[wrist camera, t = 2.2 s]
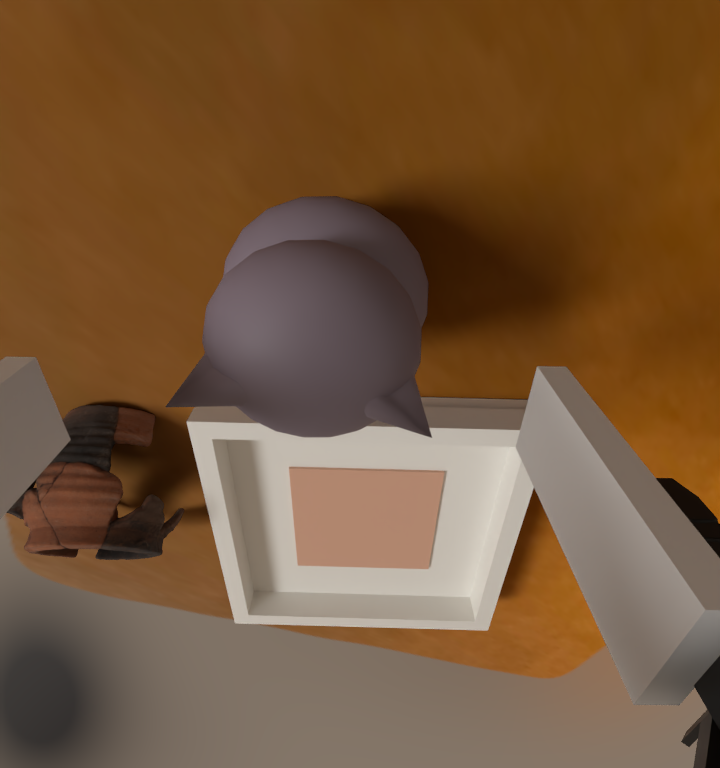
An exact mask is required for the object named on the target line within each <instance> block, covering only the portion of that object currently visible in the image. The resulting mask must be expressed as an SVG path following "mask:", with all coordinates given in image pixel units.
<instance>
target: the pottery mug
mask: <svg viewBox="0 0 720 768" xmlns="http://www.w3.org/2000/svg"><path fill="white" fill-rule="evenodd" d="M155 419H156V417H155V416H154V415H153V414H150V413H147V412H145V411H141V410H136V409H132V408H123V407H116V406H103V405H86V406H80V407H78V408H75V409H73V410H71V411H70V412H68V414H67V415H66V417H65V418H64V419H63V423H64V425H65V428H66V430H67V432H68V435H69V437H70V439H71V440H70V441H69V442H68V444H67V445H66V446H65V447H64V448H63V449H62V450H61V451H60V453H59V454H58V455H57V456H56V457H55V458H54V459H53V460H52V462H51V463H50V464H49V465H48V466H47V467H46V468H45V470H44V471H43V472H42V473H41V474H40V475H39V476H38V477H37V479H36V480H35V481H34V482H33V483H32V484H31V485H30V486H29V488H28V489H27V490H26V491H25V492H24V493H23V494H22V495H21V497H20V498H19V499H18V500H17V501H16V502H15V503H14V505H13V506H12V507H11V508H10V509H9V510H8V511H7V512H6V513H10V514H13V515H15V516H16V517H18V518H20V519H23V520H24V523H25V526H27V527H29V528H30V534H29V537H28V540H27V543H26V545H25V546H24V549H25V550H26V551H28V552H29V553H35V554H40V555H47V556H62V557H71V558H73V557H76V556H77V553H78V549H99V550H98V552H97V554H96V558H97V559H105V560H119V559H126V560H130V559H141V558H150V557H155V556H159V555H161V554H162V544H163V539H164V538H165V537H166V536H167V535H168V534H169V533H170V532H171V531H173V530H174V528H175V527H176V525H177V524H178V523H179V521H180V520H181V518H182V515H183V513H184V509H183V508H180V509H178V510H177V512H176V513H175V514H174V515H173V516H172V517H171V518H170V519H169V520H168V521H167V522H165V523H164V519H165V518H164V514H163V508H164V503H163V502H162V500H160V499H159V498H158V497H157V496H155V495H152V494H151V495H148V496H147V497H146V499H145V500H144V502H143V504H142V506H141V507H139V508H137V509H135V510H134V511H133V512H131V513H129V514H128V515H126V516H124V517H121V518H118V511H117V505H118V503H119V501H120V499H121V498H122V495H123V490H122V483H121V481H120V479H119V478H118V477H116V476H115V475H114V474H112V473H110V472H109V471H110V467H111V463H110V461H111V450H112V448H113V445H114V444H124V443H126V444H133V445H139V446H143V447H147V446H149V445H150V444H151V442H152V439H153V428H154V424H155ZM35 483H37V488H33V487H34V485H35Z"/></svg>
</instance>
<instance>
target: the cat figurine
mask: <svg viewBox="0 0 720 768" xmlns="http://www.w3.org/2000/svg"><path fill="white" fill-rule="evenodd" d="M427 305H428V280H427V276H426V273H425V270H424V267H423V264H422V261H421V258H420V255H419V253H418V251H417V250H416V249H415V247H414V246H413V245H412V243H411V242H410V241H409V239H408V238H407V237H406V236H405V234H404V233H403V232H402V230H401V229H400V228H399V226H398V225H396V224H395V223H393V222H392V221H390V220H389V219H388V218H386V217H385V216H383V215H382V214H380V213H379V212H377V211H376V210H374V209H373V208H371V207H370V206H367V205H364V204H360V203H357V202H354V201H350V200H347V199H344V198H340V197H337V196H328V197H300V198H297V199H295V200H292V201H289V202H286V203H283V204H280V205H277V206H275V207H272V208H269V209H267V210H266V211H265V212H263V213H262V214H261V215H260V216H259V217H257V218H256V219H255V220H254V221H252V222H251V223H250V224H249V225H247V226H246V227H245V228H244V229H243V230H242V232H241V233H240V235H239V237H238V239H237V240H236V242H235V244H234V246H233V247H232V249H231V251H230V253H229V254H228V256H227V258H226V262H225V269H224V276H223V279H222V280H221V282H220V284H219V286H218V287H217V289H216V291H215V292H214V294H213V296H212V298H211V299H210V301H209V303H208V305H207V307H206V315H205V323H204V331H203V346H204V350H205V354H204V356H203V357H202V358H201V360H200V361H199V362H198V364H197V365H196V367H195V368H194V369H193V371H192V372H191V373H190V375H189V376H188V377H187V379H186V380H185V381H184V383H183V384H182V385H181V387H180V388H179V389H178V391H177V392H176V393H175V395H174V396H173V397H172V399H171V400H170V401H169V403H168V404H167V405H166V407H212V406H236V407H237V408H239V409H240V410H241V411H242V412H243V413H244V414H246V415H247V416H248V417H249V418H250V419H252V420H254V421H256V422H258V423H260V424H262V425H264V426H266V427H268V428H270V429H272V430H274V431H277V432H281V433H286V434H290V435H294V436H299V437H334V436H338V435H343V434H347V433H351V432H355V431H358V430H361V429H362V428H364V427H366V426H368V425H370V424H371V423H373V422H375V421H380V422H384V423H387V424H390V425H393V426H396V427H399V428H402V429H405V430H409V431H412V432H415V433H418V434H421V435H424V436H427V437H430V438H432V435H431V432H430V429H429V425H428V422H427V418H426V415H425V411H424V408H423V404H422V401H421V397H420V394H419V390H418V387H417V384H416V380H415V377H414V376H415V373H416V371H417V369H418V367H419V364H420V358H421V328H422V325H423V323H424V321H425V318H426V316H427Z"/></svg>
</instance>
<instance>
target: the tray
mask: <svg viewBox="0 0 720 768" xmlns="http://www.w3.org/2000/svg"><path fill="white" fill-rule="evenodd" d="M421 401H422V404H423V408H424V411H425V415H426V418H427V422H428V425H429V429H430V432H431V435H432V438H430V437H427V436H424V435H421V434H418V433H415V432H412V431H409V430H405V429H402V428H399V427H396V426H393V425H390V424H387V423H384V422H380V421H375V422H373V423H371V424H370V425H368V426H366V427H364V428H362V429H361V430H358V431H355V432H351V433H347V434H343V435H338V436H334V437H299V436H294V435H290V434H286V433H281V432H277V431H274V430H272V429H270V428H268V427H266V426H264V425H262V424H260V423H258V422H256V421H254V420H252V419H250V418H249V417H248V416H247V415H246V414H244V413H243V412H242V411H241V410H240V409H239V408H237V407H236V406H212V407H195V408H194V409H193V411H192V413H191V415H190V416H189V418H188V420H187V421H186V422H187V426H188V430H189V434H190V438H191V443H192V447H193V451H194V455H195V459H196V463H197V467H198V472H199V476H200V480H201V484H202V488H203V492H204V496H205V501H206V505H207V509H208V513H209V517H210V521H211V525H212V530H213V534H214V538H215V542H216V546H217V550H218V554H219V559H220V563H221V567H222V571H223V575H224V579H225V583H226V588H227V592H228V596H229V600H230V604H231V608H232V612H233V617H234V621H235V623H242V624H277V625H313V626H348V627H383V628H419V629H454V630H488V628H489V625H490V622H491V619H492V616H493V613H494V610H495V607H496V604H497V600H498V597H499V594H500V591H501V588H502V585H503V582H504V579H505V576H506V572H507V569H508V566H509V563H510V560H511V557H512V554H513V551H514V548H515V544H516V541H517V538H518V535H519V532H520V529H521V526H522V523H523V520H524V516H525V513H526V510H527V507H528V504H529V501H530V498H531V495H532V492H533V488H534V486H533V484H532V482H531V480H530V478H529V475H528V473H527V471H526V469H525V467H524V464H523V462H522V460H521V458H520V456H519V454H518V451H517V449H516V444H517V440H518V436H519V433H520V429H521V425H522V421H523V418H524V414H525V410H526V406H527V403H528V400H515V399H476V398H437V397H421Z"/></svg>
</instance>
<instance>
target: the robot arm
mask: <svg viewBox="0 0 720 768" xmlns="http://www.w3.org/2000/svg"><path fill="white" fill-rule="evenodd" d="M70 440H71V439H70V437H69V435H68V432H67V430H66V428H65V425H64V423H63V420H62V418H61V416H60V413H59V411H58V409H57V406H56V404H55V402H54V399H53V397H52V394H51V392H50V390H49V387H48V385H47V383H46V380H45V378H44V375H43V373H42V371H41V368H40V366H39V364H38V361H37V359H36V357H5V358H4V359H2V360H1V361H0V519H1V518H2V517H3V516H4V515H5V514H6V512H7V511H8V510H9V509H10V508H11V507H12V506H13V505H14V503H15V502H16V501H17V500H18V499H19V498H20V497H21V495H22V494H23V493H24V492H25V491H26V490H27V489H28V488H29V486H30V485H31V484H32V483H33V482H34V481H35V480H36V479H37V477H38V476H39V475H40V474H41V473H42V472H43V471H44V470H45V468H46V467H47V466H48V465H49V464H50V463H51V462H52V460H53V459H54V458H55V457H56V456H57V455H58V454H59V453H60V451H61V450H62V449H63V448H64V447H65V446H66V445H67V444H68V442H69V441H70ZM516 449H517V451H518V454H519V456H520V458H521V460H522V462H523V464H524V467H525V469H526V471H527V473H528V475H529V478H530V480H531V482H532V484H533V486H534V488H535V491H536V493H537V495H538V497H539V499H540V501H541V504H542V506H543V508H544V510H545V512H546V515H547V517H548V519H549V521H550V523H551V525H552V528H553V530H554V532H555V534H556V536H557V539H558V541H559V543H560V545H561V547H562V549H563V552H564V554H565V556H566V558H567V560H568V562H569V565H570V567H571V569H572V571H573V573H574V576H575V578H576V580H577V582H578V584H579V586H580V589H581V591H582V593H583V595H584V597H585V599H586V602H587V604H588V606H589V608H590V610H591V613H592V615H593V617H594V619H595V621H596V623H597V626H598V628H599V630H600V632H601V634H602V637H603V639H604V641H605V643H606V645H607V647H608V649H609V652H610V654H611V656H612V658H613V660H614V663H615V665H616V667H617V669H618V671H619V673H620V676H621V678H622V680H623V682H624V684H625V687H626V689H627V691H628V693H629V695H630V697H631V700H632V702H633V704H634V705H680V703H682V701H683V700H684V699H685V698H686V697H687V696H688V695H689V693H690V692H691V691H692V690H693V689H694V688H696V690H697V692H698V694H699V695H700V697H701V699H702V701H703V702H704V704H705V705H706V707H707V709H708V710H707V711H706V712H705V713H704V714H703V715H702V716H701V717H700V718H699V719H698V720H697V721H696V722H695V723H694V724H693V725H692V726H691V727H690V728H689V729H688V730H687V732H686V734H685V736H684V738H683V740H682V741H681V742H683V743H684V744H686V745H687V746H688V747H689V746H691V744H692V743H693V742H695V741H696V740H697V739H698V742H697V748H696V755H695V761H694V767H693V768H720V524H719V523H718V521H717V520H718V519H717V518H716V517H715V516H714V514H713V513H712V512H711V511H710V510H709V509H708V508H707V506H706V505H705V504H704V503H703V502H702V501H701V500H700V498H699V497H697V496H696V495H695V494H693V493H692V492H690V491H689V490H688V489H686V488H685V487H684V486H682V485H681V484H679V483H678V482H677V481H675V480H674V479H672V478H655V477H654V476H653V474H652V473H651V472H650V471H649V469H648V468H647V467H646V466H645V464H644V463H643V462H642V461H641V459H640V458H639V457H638V456H637V454H636V453H635V452H634V451H633V449H632V448H631V447H630V446H629V444H628V443H627V442H626V441H625V439H624V438H623V437H622V436H621V435H620V433H619V432H618V431H617V430H616V428H615V427H614V426H613V425H612V423H611V422H610V421H609V420H608V418H607V417H606V416H605V415H604V413H603V412H602V411H601V410H600V408H599V407H598V406H597V405H596V403H595V402H594V401H593V400H592V398H591V397H590V396H589V395H588V393H587V392H586V391H585V390H584V388H583V387H582V386H581V385H580V383H579V382H578V381H577V380H576V378H575V377H574V376H573V375H572V373H571V372H570V371H569V370H568V368H567V367H549V366H537V369H536V373H535V376H534V380H533V384H532V388H531V391H530V395H529V399H528V403H527V406H526V410H525V414H524V418H523V421H522V425H521V429H520V433H519V436H518V440H517V444H516Z"/></svg>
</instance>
